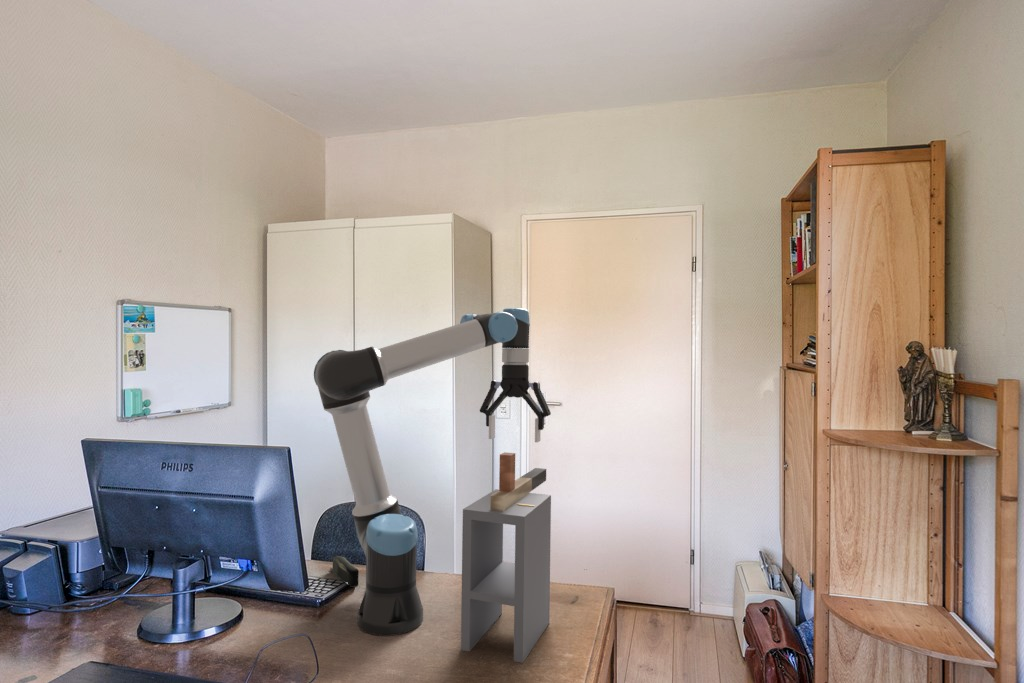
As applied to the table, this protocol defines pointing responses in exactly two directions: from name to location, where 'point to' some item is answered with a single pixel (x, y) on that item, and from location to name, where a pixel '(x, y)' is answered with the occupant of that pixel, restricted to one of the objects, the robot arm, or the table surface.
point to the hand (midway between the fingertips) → (514, 440)
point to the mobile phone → (345, 570)
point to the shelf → (506, 570)
